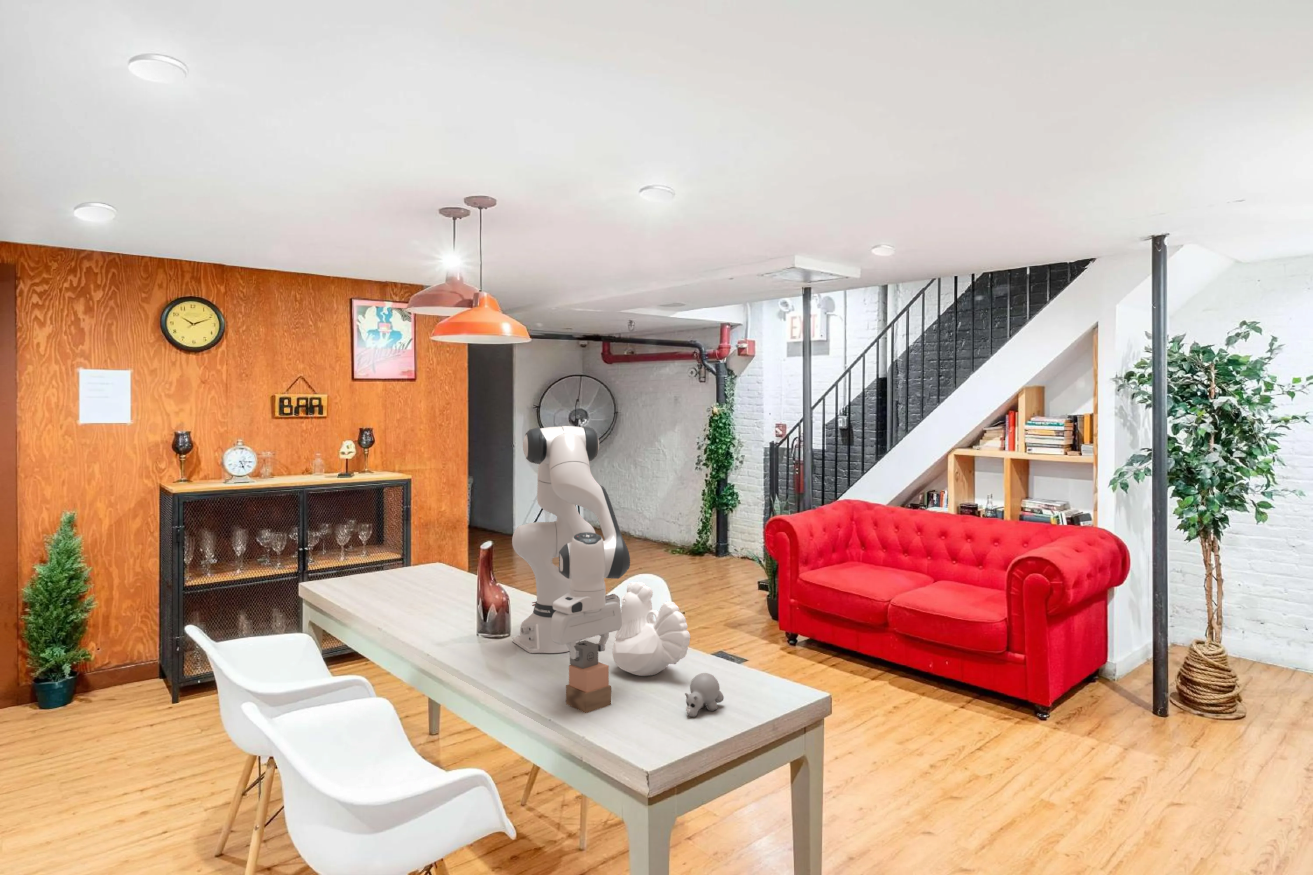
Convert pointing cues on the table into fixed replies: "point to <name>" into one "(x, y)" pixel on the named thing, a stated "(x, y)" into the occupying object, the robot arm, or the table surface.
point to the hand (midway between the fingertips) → (587, 654)
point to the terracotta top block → (589, 677)
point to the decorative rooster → (649, 633)
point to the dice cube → (585, 654)
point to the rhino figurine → (703, 694)
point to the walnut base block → (588, 698)
